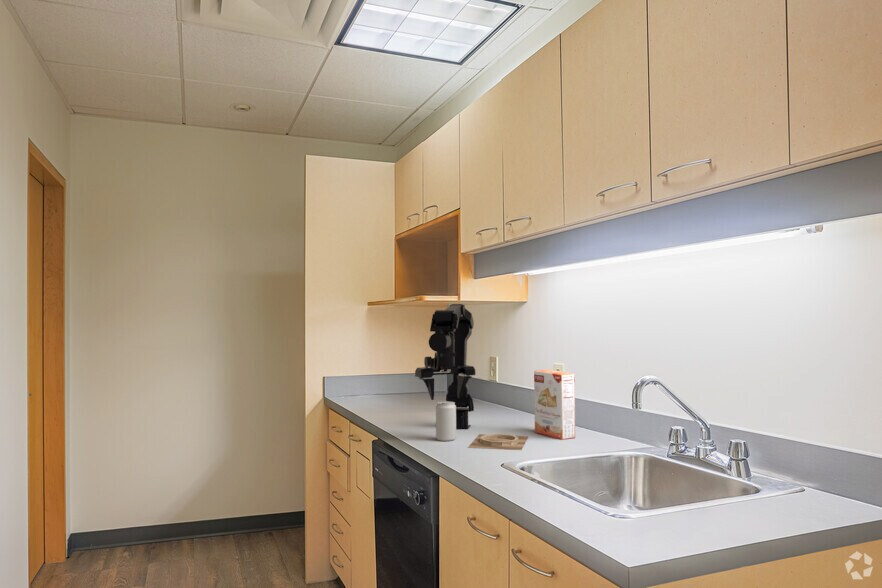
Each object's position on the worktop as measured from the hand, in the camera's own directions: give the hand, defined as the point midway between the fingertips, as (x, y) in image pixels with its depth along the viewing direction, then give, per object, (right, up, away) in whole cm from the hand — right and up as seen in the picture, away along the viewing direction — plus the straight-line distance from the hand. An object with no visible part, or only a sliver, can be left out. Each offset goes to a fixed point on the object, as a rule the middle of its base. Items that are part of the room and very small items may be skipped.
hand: (445, 398), depth 205 cm
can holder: (+16, -13, -5) cm, 22 cm away
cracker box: (+35, -13, +6) cm, 38 cm away
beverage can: (0, -13, 0) cm, 13 cm away
